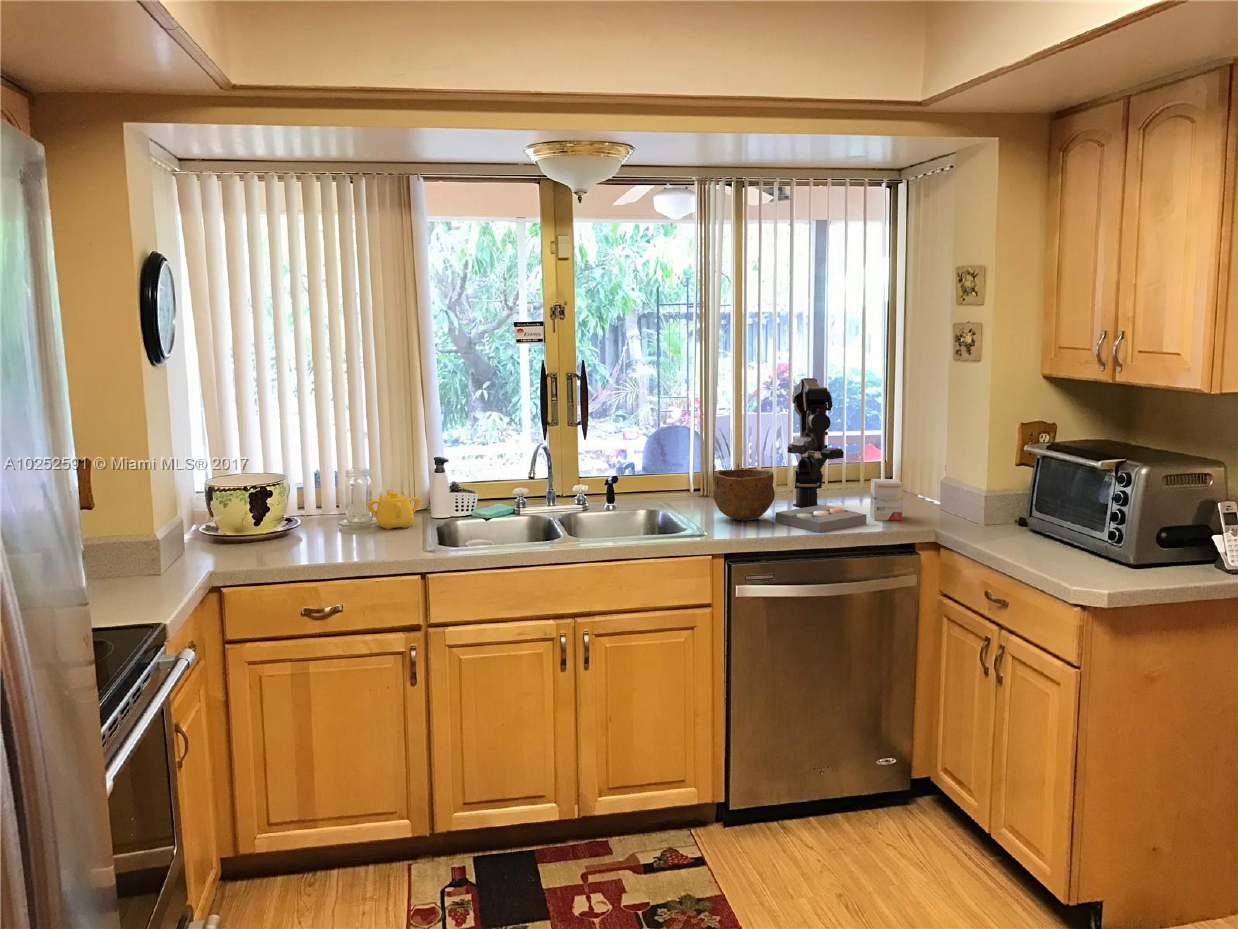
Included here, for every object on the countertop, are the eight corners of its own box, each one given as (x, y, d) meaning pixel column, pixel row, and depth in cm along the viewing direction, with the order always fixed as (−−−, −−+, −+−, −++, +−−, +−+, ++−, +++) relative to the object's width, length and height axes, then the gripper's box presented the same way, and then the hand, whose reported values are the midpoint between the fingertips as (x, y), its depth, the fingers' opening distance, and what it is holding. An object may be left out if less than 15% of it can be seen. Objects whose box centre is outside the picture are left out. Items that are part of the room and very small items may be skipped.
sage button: (793, 524, 290) (793, 514, 289) (803, 522, 292) (804, 512, 292) (803, 527, 286) (804, 517, 286) (814, 525, 289) (814, 515, 288)
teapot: (361, 528, 288) (360, 494, 286) (388, 520, 299) (387, 487, 297) (399, 532, 282) (398, 498, 280) (425, 524, 293) (424, 490, 292)
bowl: (702, 522, 294) (703, 474, 292) (725, 511, 311) (726, 465, 308) (761, 528, 286) (762, 478, 283) (782, 517, 302) (783, 469, 300)
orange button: (826, 518, 297) (826, 509, 297) (836, 517, 300) (836, 507, 299) (837, 521, 294) (837, 511, 293) (847, 519, 296) (847, 509, 296)
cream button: (810, 521, 294) (810, 511, 293) (820, 519, 296) (820, 510, 296) (820, 524, 290) (821, 514, 290) (831, 522, 292) (831, 512, 292)
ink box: (897, 515, 304) (898, 478, 302) (902, 521, 296) (903, 482, 294) (869, 514, 305) (870, 477, 303) (873, 520, 297) (874, 482, 295)
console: (775, 521, 295) (775, 512, 294) (822, 514, 306) (822, 504, 306) (818, 532, 280) (819, 522, 280) (866, 524, 291) (866, 514, 291)
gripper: (775, 427, 301) (774, 477, 304) (819, 433, 286) (817, 485, 288) (801, 425, 307) (799, 473, 310) (845, 430, 292) (843, 481, 295)
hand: (814, 478), depth 301 cm, fingers closed
